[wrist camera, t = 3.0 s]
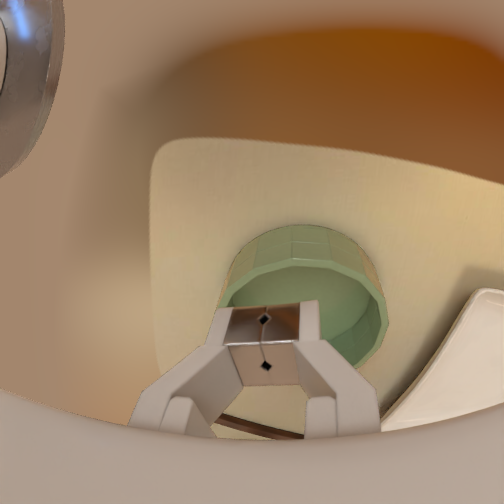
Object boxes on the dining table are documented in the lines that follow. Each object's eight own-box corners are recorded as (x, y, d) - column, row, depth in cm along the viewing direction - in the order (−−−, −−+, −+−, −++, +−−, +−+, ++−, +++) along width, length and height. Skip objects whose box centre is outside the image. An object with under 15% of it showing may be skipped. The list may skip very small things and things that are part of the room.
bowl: (208, 315, 30) (195, 353, 26) (263, 197, 23) (255, 227, 19) (326, 358, 31) (328, 396, 27) (404, 264, 25) (421, 301, 20)
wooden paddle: (202, 419, 42) (200, 425, 41) (214, 403, 39) (212, 410, 38) (328, 450, 44) (328, 456, 43) (350, 437, 41) (350, 443, 40)
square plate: (463, 264, 24) (480, 289, 20) (586, 293, 23) (599, 310, 20) (363, 421, 38) (365, 444, 35) (493, 413, 37) (499, 430, 34)
